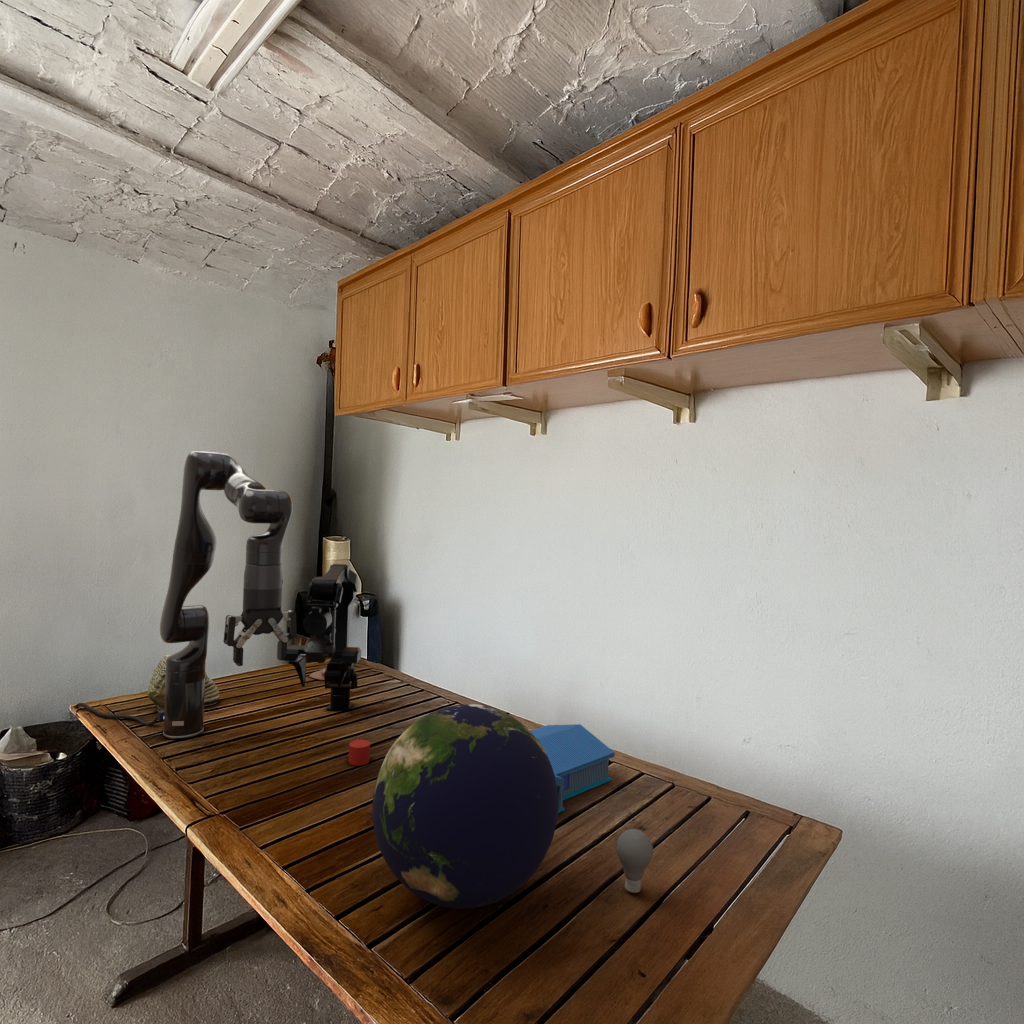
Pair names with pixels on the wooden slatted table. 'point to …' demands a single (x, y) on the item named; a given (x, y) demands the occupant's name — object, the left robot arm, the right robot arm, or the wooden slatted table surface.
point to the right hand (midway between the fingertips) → (321, 687)
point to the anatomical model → (318, 674)
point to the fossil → (158, 687)
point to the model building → (574, 758)
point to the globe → (465, 806)
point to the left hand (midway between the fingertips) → (260, 662)
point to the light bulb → (634, 857)
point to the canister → (359, 752)
